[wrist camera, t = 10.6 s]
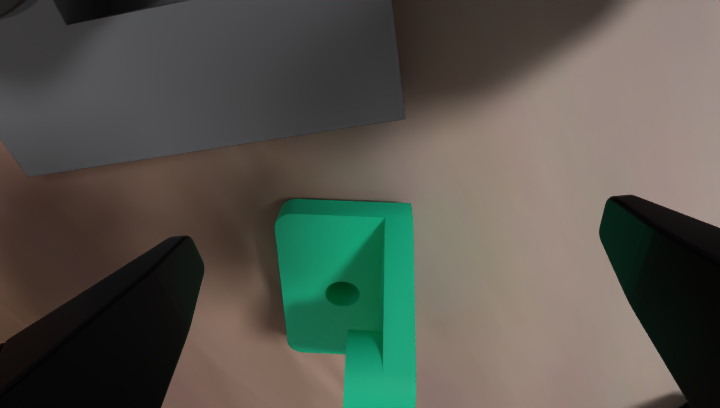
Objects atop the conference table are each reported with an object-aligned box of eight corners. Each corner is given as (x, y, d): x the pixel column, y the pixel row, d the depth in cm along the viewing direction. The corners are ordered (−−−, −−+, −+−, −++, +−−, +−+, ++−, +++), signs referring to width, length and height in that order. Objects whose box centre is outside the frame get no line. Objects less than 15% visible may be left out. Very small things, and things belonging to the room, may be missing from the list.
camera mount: (282, 188, 23) (228, 327, 15) (409, 193, 23) (430, 335, 15) (295, 322, 30) (263, 472, 21) (394, 326, 30) (402, 479, 21)
